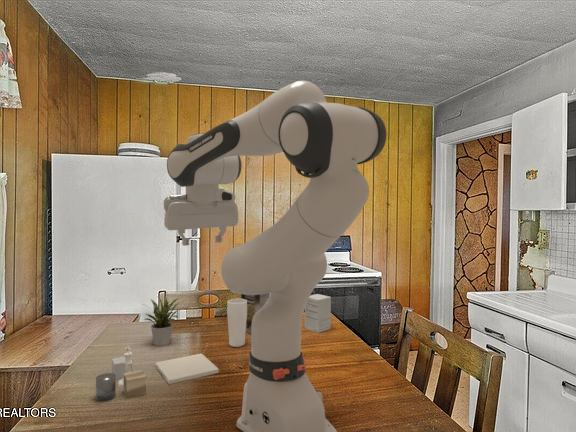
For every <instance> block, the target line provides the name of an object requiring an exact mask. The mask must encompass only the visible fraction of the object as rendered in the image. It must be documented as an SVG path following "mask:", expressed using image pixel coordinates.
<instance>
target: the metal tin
mask: <svg viewBox="0 0 576 432" xmlns="http://www.w3.org/2000/svg"><path fill="white" fill-rule="evenodd" d="M116 381H117V380H116V375H115V374H113V373H112V372H107V373H102V374H99V375H98V376H96V377H95V400H96V401H97V402H101V403H103V402H109V401H111V400H113V399H115V398H116V397H117V394H116V393H117V386H116V385H117V384H116V383H117V382H116Z"/></svg>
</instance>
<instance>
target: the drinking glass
mask: <svg viewBox="0 0 576 432" xmlns="http://www.w3.org/2000/svg"><path fill="white" fill-rule="evenodd" d="M226 303H227V305H226V306H227V307H226V314H227V326H228V328H227V329H228V344H229V346H231V347H235V348H240V347H243V346H244V345H245V344H246V333H247V332H246V321H247V300H245V299H241V298H230V299H228V300H227V302H226Z"/></svg>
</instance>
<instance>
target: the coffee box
mask: <svg viewBox="0 0 576 432" xmlns="http://www.w3.org/2000/svg"><path fill="white" fill-rule="evenodd" d="M269 297H270V293H266V294H259V295H246V294H240V299H245V300H247V321H246V332H245V333H249V334H251V327H252V319H253V317H254V315H255V313H256V312H257V311H258V310H259V309H261V308H262V307H263V306H264V305H265V304H266V302H267V301H268V299H269Z"/></svg>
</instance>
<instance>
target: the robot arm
mask: <svg viewBox="0 0 576 432" xmlns="http://www.w3.org/2000/svg"><path fill="white" fill-rule="evenodd" d="M266 97H267V98H265V99H263V100H262V101H261V102H260V103H258V104H257V105H255V106H253V107H252V108H250V109H248V110H247V111H246V112H243V113H241V114H240V115H238V116H235V117H234V118H232V119H230V120H227V121H225V122H222V123H221V124H218V125H216V126H214V127H213V128H211V129H210V130H208V131H207V132H203V133H195V134H194V133H193V134H191V135H190V136H188V137H187V141H186V143H185V144H184V143H179V144H177V145H175V146H174V148H172V150H171V151H170V152H169V154H168V156H167V160H166V168H167V169H166V170H167V174H168V176H169V177H170V178H171V179H172V181H174V182H175V183H176V184H177V185H179V186H180V187H182V188H185V194H171V195H168V196H167V197H165V198H164V200H163V209H164V211H165V213H164V224H163V225H164V228H166V229H167V230H168V231H177V233H178V235H179V237H180V238H181V239H182V240H181V244H182V246H184V247H187V246H189V245H190V239H189V238H188V237H186V236H185V235H184V234H186V230H193V229H194V230H199V229H209V228H210V229H211V228H218V229H219V233H218V234H217V235H214V238H215V239H214V241H215V243H217V244H218V243H219V244H220V243H223V236H224V234H225V233H226V232H227V227H236V226H237V225H238V223H239V209H238V205H237V203H236V202H235V200H236V194H235V193H234V192H231V191H228V190H225V189H224V188H220V187H219V186H220V185H230V184H233V183H235V182H236V181H237V180H238V179H239V177H240V175H241V173H242V168H243V167H242V159H241V157H242V156H243V157H244V156H246V157H247V156H251V157H253V156H255V157H258V156H259V157H264V156H265V157H266V156H267V157H268V156H273V155H278V154H281V153H283V155H285V158H286V159H287V160H288V161H289V163H290V164H291V165H293V166H294V167H295V170H296V172H297V173H298V174H299V175H301V176H302V177H304V178H308V179H309V182H308V184H307V185H306V187H305V188H304V189H303V190H302V192H301V193H300V194H299V196H298V197H297V198H296V199H295V201H294V202H293V204H291V206H290V208H289V209H288V210H287V211H286V212H285V214H284V215H283V216H282V217H281V218H280V219H279V220H278V221H277V222H276V223H274V224H273V225H271V226H270V227H269V228H267V229H265V230H264V231H263V232H261V233H260V234H258V235H257V236H255V237H253V238H252V239H250V240H248V241H246V242H244V243H243V244H240V245H238V246H235V247H232V248H230V249H229V250H228V251H227V252H226V253H225V255H224V257H223V259H222V261H221V265H220V267H221V269H220V270H221V272H220V273H221V277H222V281H223V283H224V285H225V286H226V287H227V289H228V290H229V291H230V292H231V293H233V294H237V295H241V294H246V295H259V294H266V293H269V299H268V301H267V302H266V304H265V305H264V306H263V307H262V308H261V309H259V310H258V311H257V312H256V313H255V315H254V317H253V319H252V327H251V333H250V334H251V335H250V336H251V338H250V340H251V342H250V343H251V345H250V346H251V348H250V349H251V350H250V352H249V355H248V356H249V357H248V370H249V372H250V373H249V375H248V378H247V380H246V382H245V383H244V386H243V393H242V394H243V395H242V406H241V408H242V409H241V415H240V416H239V417H238V418H237V420H236V424H235V425H236V427H237V428H238V429H239V430H241V431H242V432H338V430H337V429H336V428H335V427H334V425H332V423H330V421H329V420H328V419H327V418H326V411H325V406H324V402H323V400H324V398H323V397H324V396H323V393H322V392H321V391H316V389H315V387H314V386H313V384H312V381H311V380H310V379H309V378H308V375H307V373H306V371H307V370H308V367H307V366H308V363H305V358H304V355H303V352H302V347H301V345H302V344H301V343H302V327H303V326H302V324H303V317H304V314H305V307H306V304H307V301H308V299H309V297H310V295H312V292H314V289H315V288H316V286H317V285H318V284H319V283H320V282H321V281H322V280H323V279H324V277H325V276H326V273H327V268H328V262H327V261H328V260H327V256H326V254H325V253H326V252H327V251H328V250H329V249H330V248H331V247H332V246H333V245H334V244H335V243H336V241H338V239H339V238H340V237H341V236H342V235H343V234H344V233H345V232H346V231H347V230H348V229H349V227H351V225H352V224H353V223H354V221H355V220H356V219H357V217H358V216H359V215H360V213H361V212H362V210H363V209H364V206H365V205H366V204H367V201H368V199H369V197H370V187H369V183H368V181H367V178H366V177H365V175H363V173H361V171H360V170H359V168H358V165H362V164H365V163H368V162H370V161H372V160H374V159H375V158H377V156H379V155H380V154H381V152H382V151H383V149H384V147H385V145H386V141H387V128H386V125H385V123H384V120H383V119H382V118H381V117H380V115H378V114H377V113H376V112H374V111H372V110H370V109H368V108H365V107H362V106H353V105H347V104H343V103H339V102H337V103H336V102H327V99H326V97H325V94H324V93H323V91H322V90H321V89H320V88H319V87H318V86H317V85H316V84H314V83H313V82H311V81H309V80H297V81H293V82H292V83H290V84H287V85H285V86H283V87H281V88H280V89H278V90H276V91H275V92H273V93H271V94H270V95H269V96H266Z"/></svg>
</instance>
